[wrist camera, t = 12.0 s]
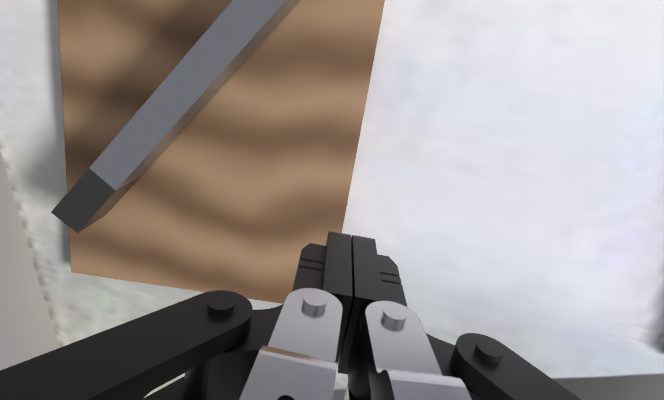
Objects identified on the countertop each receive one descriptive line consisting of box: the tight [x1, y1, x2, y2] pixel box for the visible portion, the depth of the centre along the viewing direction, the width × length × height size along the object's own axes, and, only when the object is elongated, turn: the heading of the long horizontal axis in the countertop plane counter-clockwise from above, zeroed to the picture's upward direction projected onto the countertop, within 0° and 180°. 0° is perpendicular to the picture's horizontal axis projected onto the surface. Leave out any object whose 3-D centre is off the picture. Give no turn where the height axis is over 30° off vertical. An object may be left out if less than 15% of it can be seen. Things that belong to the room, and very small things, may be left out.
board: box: [58, 0, 385, 304], centre depth 33 cm, size 32×24×2 cm
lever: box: [51, 0, 301, 233], centre depth 29 cm, size 28×4×5 cm, turn 134°
